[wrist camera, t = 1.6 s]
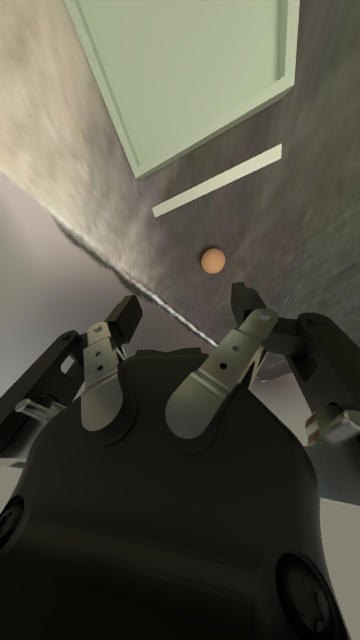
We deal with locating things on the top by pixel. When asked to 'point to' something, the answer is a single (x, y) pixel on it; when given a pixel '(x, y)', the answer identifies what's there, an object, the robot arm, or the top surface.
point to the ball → (213, 260)
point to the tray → (185, 68)
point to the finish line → (220, 180)
